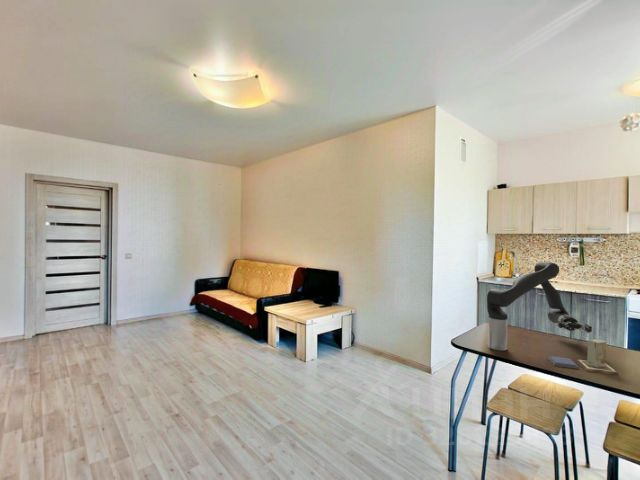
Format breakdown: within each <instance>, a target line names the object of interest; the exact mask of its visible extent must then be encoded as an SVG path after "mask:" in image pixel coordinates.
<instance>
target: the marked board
mask: <svg viewBox="0 0 640 480" xmlns="http://www.w3.org/2000/svg"><path fill="white" fill-rule="evenodd" d="M575 361H576V362H575V363H576V364H579V365H580V367H581V368H583V370H585V371H586V372H593V373H600V374H605V375H606V374H607V375H615V376H619V372H618V371H617V370H616V369H614V368H613V367H612V366H610V365H609V364H608V363H607V362H606V365H605V367H599V368H596V367H593V366H591V365H588V364H587V360H584V359H577V358H576V359H575Z"/></svg>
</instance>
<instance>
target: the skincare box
mask: <svg viewBox="0 0 640 480" xmlns="http://www.w3.org/2000/svg"><path fill="white" fill-rule="evenodd" d="M606 357H607V341H605V340H602V339H588V340H587V357H586V358H587V360H586V361H587V364H588V365H591V366H593V367H596V368H599V367H605V365H606V363H607V362H606V361H607V359H606Z"/></svg>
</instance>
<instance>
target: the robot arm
mask: <svg viewBox="0 0 640 480" xmlns="http://www.w3.org/2000/svg"><path fill="white" fill-rule="evenodd" d="M559 272H560V266H559V265H558V264H557V263H554V262H545V261H544V262H543V261H539V262H536V264H535V265H534V271H533V272H528V273H525V274H522V275H520V276H519V277H517V278H515V279H514V280H513V282H512V287H510V288H509V289H506V290H501V289H497V288H492V289H490V290H489V291H488V292H487V295H486V306H487V308H486V309H487V313H488V329H487V346H488V349H492V350H493V351H494V350H495V351H501V352H502V351H506V350H508V314H507V313H506V312H505V311H504V310H503V309H502V308H506V307H509V306H510V305H511V304H513V303H514V302H515V301H516V300H517V299H519V298H520V297H522V296H524V295H525V294H527V293H528V292H530V291H532V290H533V289H535V288H536V287H538V286H540V287H541V288H542V290H543V293H544V294H545V297H546V301H547V306H548V307H549V308H550V309H554V310H551V311H549V312H548V313H547V317H548V319H549V321H550V322H551V323H553V324H556V326H557V327H558V328H560V329H563V330H567V331H571V332H573V331H576V330H577V331H580V332H583V331H584V332H586V333H588V334H590V333H592V332H593V326H591V325H589V324H586V323H585V324H583V323H579V321H578V320H577V319H576V318H574V317H573V316H572V315H570V314H569V313H568V311H567V309H566V308H565V307H564V304H563V302H562V298H561V295H560V293H559V292H558V289H556V288H555V287H554V286H553V285H552V283H551V282H550V280H552V279H554V278H556V277H557V276H558V275H559Z"/></svg>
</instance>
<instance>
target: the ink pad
mask: <svg viewBox="0 0 640 480" xmlns="http://www.w3.org/2000/svg"><path fill="white" fill-rule="evenodd" d="M547 360H548V361H549V362H550V363H551V365H552V366H553V367H561V368H568V369H577V370H580V366H579V365H577V363H576V362H574V361H573V360H572V359H571V358H567V357H559V356H551V355H550V356H547Z"/></svg>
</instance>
